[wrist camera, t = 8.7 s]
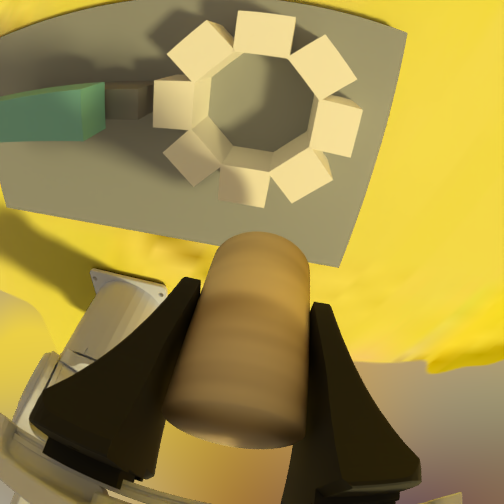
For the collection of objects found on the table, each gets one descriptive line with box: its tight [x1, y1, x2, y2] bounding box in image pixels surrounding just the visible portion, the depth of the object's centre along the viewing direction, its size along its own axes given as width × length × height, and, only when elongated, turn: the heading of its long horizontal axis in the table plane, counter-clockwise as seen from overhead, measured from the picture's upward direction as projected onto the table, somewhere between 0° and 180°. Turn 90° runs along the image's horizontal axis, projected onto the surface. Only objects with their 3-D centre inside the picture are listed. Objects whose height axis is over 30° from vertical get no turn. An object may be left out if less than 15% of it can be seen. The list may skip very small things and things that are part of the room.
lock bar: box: [0, 82, 106, 143], centre depth 12 cm, size 3×12×2 cm, turn 83°
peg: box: [161, 231, 310, 449], centre depth 10 cm, size 4×4×7 cm
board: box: [0, 0, 407, 268], centre depth 16 cm, size 16×30×4 cm, turn 83°
